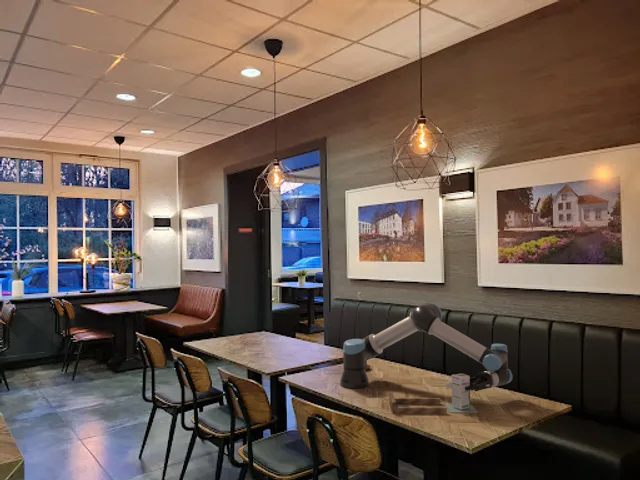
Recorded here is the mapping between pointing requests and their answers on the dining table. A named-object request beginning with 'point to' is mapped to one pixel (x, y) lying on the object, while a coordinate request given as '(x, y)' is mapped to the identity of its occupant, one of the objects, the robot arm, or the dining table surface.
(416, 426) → the dining table surface
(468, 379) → the syrup box
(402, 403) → the walnut lane
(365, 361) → the cup and saucer
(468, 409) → the pad
